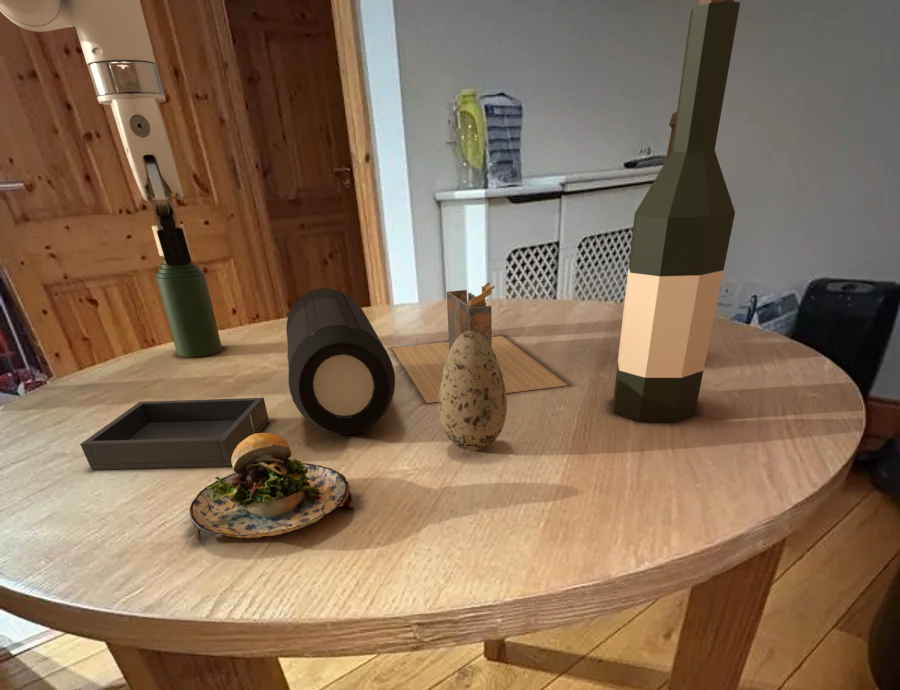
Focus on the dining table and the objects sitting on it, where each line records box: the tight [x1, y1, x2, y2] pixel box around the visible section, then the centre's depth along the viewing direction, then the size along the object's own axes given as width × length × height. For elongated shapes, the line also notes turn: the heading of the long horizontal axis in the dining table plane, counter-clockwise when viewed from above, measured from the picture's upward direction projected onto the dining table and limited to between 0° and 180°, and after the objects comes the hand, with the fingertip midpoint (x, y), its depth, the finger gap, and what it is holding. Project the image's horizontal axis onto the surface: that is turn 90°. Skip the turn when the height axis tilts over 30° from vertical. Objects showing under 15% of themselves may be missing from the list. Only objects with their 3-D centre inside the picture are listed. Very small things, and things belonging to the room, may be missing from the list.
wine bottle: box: [612, 0, 741, 423], centre depth 51 cm, size 8×8×30 cm
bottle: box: [155, 258, 223, 358], centre depth 84 cm, size 6×6×15 cm
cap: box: [151, 223, 191, 257], centre depth 80 cm, size 4×4×3 cm
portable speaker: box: [285, 287, 396, 436], centre depth 63 cm, size 26×10×10 cm, turn 13°
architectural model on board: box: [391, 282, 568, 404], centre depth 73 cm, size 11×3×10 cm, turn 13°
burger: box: [188, 410, 355, 541], centre depth 44 cm, size 12×12×8 cm
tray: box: [79, 397, 270, 471], centre depth 58 cm, size 13×11×2 cm
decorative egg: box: [438, 331, 508, 451], centre depth 51 cm, size 6×6×10 cm
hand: (178, 260), depth 81 cm, fingers closed on cap, 3 cm apart
